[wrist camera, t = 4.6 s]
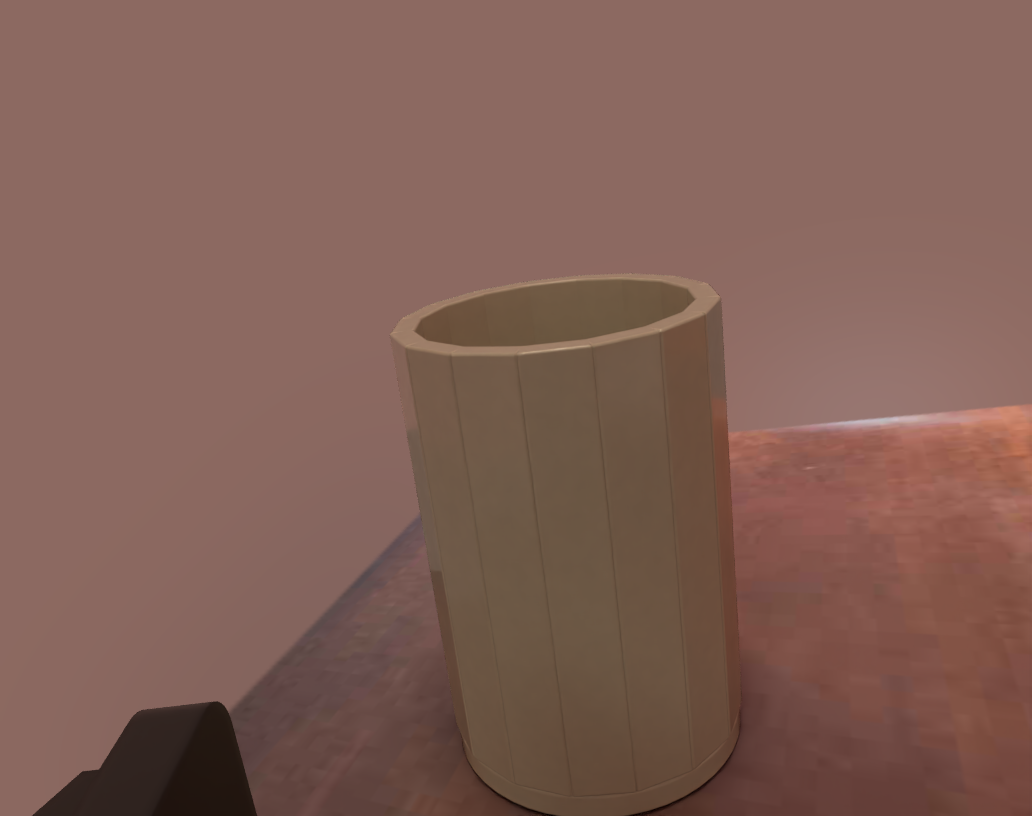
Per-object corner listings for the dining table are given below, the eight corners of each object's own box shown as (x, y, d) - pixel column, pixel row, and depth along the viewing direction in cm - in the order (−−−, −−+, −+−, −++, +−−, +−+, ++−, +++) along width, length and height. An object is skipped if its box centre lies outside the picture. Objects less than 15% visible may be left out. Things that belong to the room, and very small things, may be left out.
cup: (519, 865, 18) (443, 377, 14) (430, 685, 24) (362, 312, 20) (801, 752, 20) (789, 301, 16) (653, 612, 26) (623, 262, 22)
